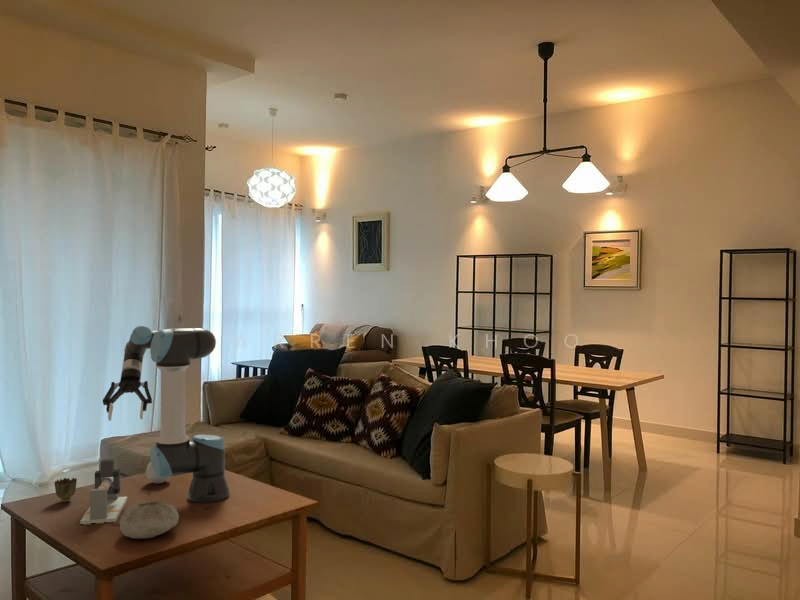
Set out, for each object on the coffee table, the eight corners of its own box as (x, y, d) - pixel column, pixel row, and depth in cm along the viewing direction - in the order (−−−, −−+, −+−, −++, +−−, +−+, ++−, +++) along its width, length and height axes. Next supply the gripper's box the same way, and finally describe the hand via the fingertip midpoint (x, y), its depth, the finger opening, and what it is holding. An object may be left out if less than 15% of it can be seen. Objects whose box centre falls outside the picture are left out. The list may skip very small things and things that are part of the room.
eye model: (176, 480, 266) (176, 456, 266) (162, 487, 256) (162, 462, 256) (155, 478, 268) (155, 454, 268) (140, 485, 258) (140, 461, 258)
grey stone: (134, 523, 216) (134, 494, 216) (186, 524, 216) (186, 494, 216) (109, 544, 199) (109, 512, 198) (165, 545, 198) (165, 513, 198)
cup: (81, 498, 242) (81, 477, 242) (69, 505, 235) (69, 483, 235) (62, 498, 243) (62, 477, 243) (50, 504, 236) (49, 482, 235)
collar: (96, 492, 233) (96, 459, 233) (120, 491, 235) (120, 458, 235) (94, 495, 231) (94, 462, 230) (118, 493, 233) (118, 460, 232)
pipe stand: (95, 501, 238) (95, 472, 238) (127, 499, 241) (127, 470, 241) (80, 524, 215) (79, 492, 215) (115, 521, 218) (115, 489, 218)
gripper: (162, 377, 270) (157, 421, 255) (102, 379, 264) (94, 424, 249) (160, 366, 264) (156, 411, 250) (99, 368, 259) (91, 413, 244)
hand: (125, 418), depth 249 cm, fingers open, 11 cm apart
